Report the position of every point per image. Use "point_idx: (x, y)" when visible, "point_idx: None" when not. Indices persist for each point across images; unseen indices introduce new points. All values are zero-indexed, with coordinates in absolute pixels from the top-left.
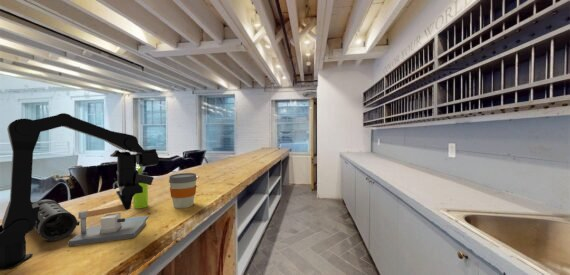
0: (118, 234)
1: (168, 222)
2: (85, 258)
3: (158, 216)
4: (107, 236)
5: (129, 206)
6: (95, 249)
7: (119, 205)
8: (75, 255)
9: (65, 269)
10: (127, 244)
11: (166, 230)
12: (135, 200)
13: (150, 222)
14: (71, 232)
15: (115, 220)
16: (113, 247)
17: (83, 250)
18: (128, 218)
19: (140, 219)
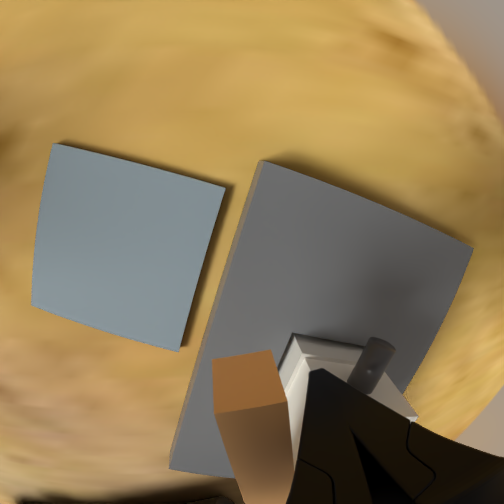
0: (432, 326)
1: (329, 12)
2: (481, 375)
3: (107, 62)
4: (415, 371)
5: (351, 390)
6: (446, 373)
7: (285, 487)
8: (438, 413)
9: (494, 393)
10: (493, 265)
11: (458, 72)
12: None
13: (235, 122)
14: (218, 499)
15: (400, 398)
16: (480, 315)
17: (420, 408)
18: (51, 296)
19: (121, 205)
